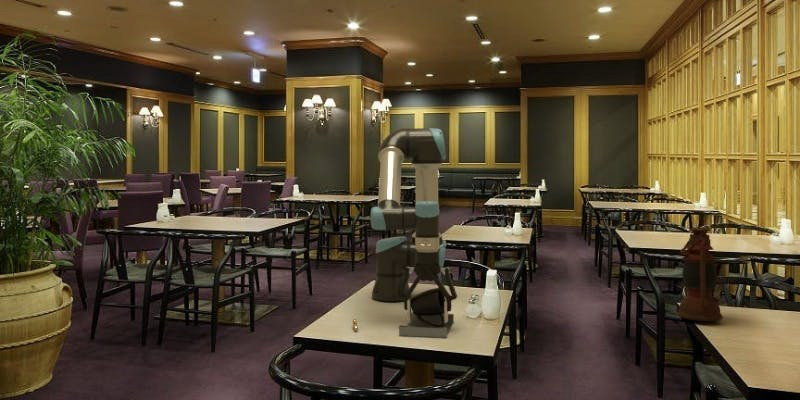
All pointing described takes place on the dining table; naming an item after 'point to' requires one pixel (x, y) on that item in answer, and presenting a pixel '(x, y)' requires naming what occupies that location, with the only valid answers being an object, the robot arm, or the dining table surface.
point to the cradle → (427, 327)
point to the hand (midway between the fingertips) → (427, 321)
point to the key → (355, 325)
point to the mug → (428, 305)
